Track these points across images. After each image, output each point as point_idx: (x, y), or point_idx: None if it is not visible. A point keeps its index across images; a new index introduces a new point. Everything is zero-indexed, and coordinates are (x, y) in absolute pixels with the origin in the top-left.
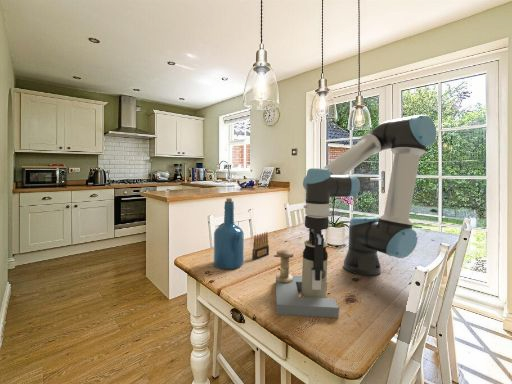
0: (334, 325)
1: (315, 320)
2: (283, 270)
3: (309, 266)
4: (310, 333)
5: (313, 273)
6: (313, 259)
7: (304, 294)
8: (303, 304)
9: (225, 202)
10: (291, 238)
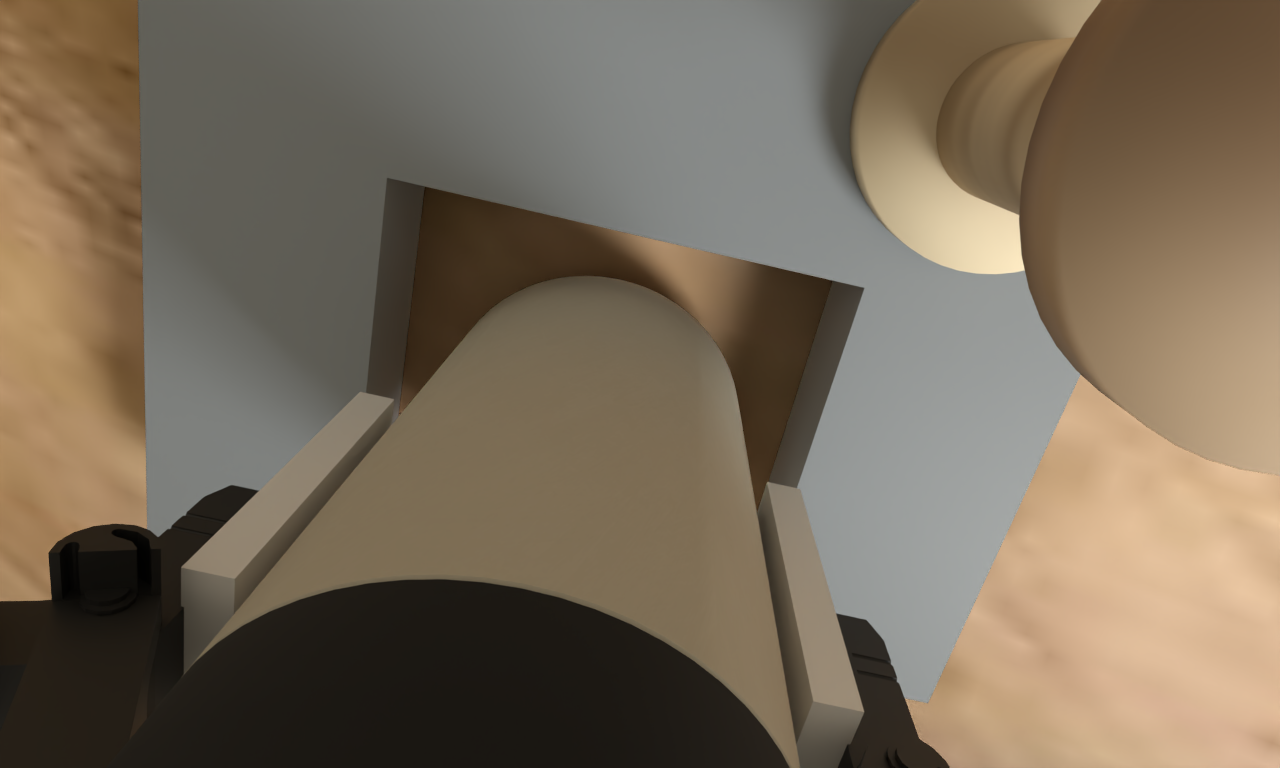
0: (78, 394)
1: (140, 249)
2: (1011, 85)
3: (290, 551)
4: None
5: (234, 528)
6: (90, 758)
7: (525, 294)
8: (176, 169)
9: None
10: None
